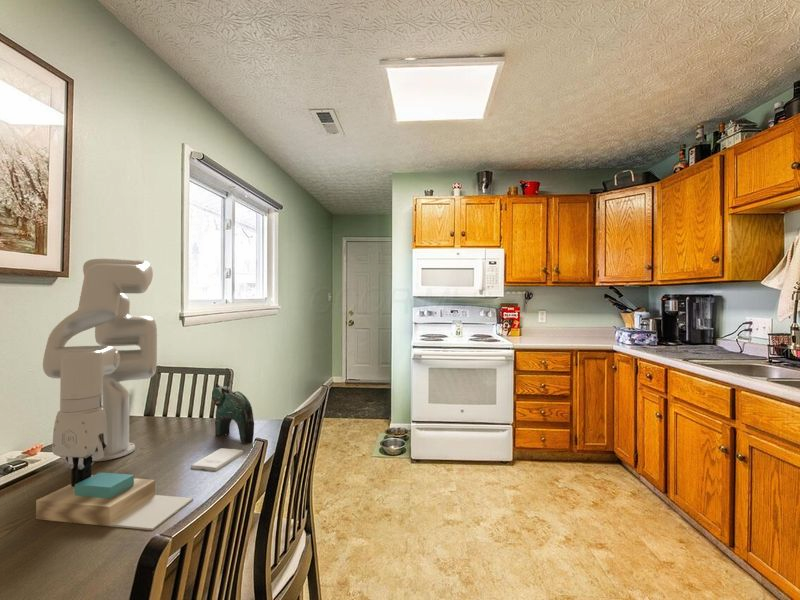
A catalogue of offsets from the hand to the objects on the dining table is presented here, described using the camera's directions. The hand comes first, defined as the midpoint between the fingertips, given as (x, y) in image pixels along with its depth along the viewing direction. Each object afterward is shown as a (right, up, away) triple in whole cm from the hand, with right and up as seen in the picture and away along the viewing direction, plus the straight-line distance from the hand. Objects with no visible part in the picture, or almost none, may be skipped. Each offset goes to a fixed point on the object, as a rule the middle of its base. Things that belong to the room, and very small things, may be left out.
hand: (81, 483), depth 86 cm
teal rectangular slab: (+6, -1, -1) cm, 6 cm away
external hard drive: (+19, -6, +25) cm, 32 cm away
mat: (+18, -5, -3) cm, 19 cm away
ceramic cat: (+16, -6, +43) cm, 46 cm away
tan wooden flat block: (+4, -5, -1) cm, 7 cm away
